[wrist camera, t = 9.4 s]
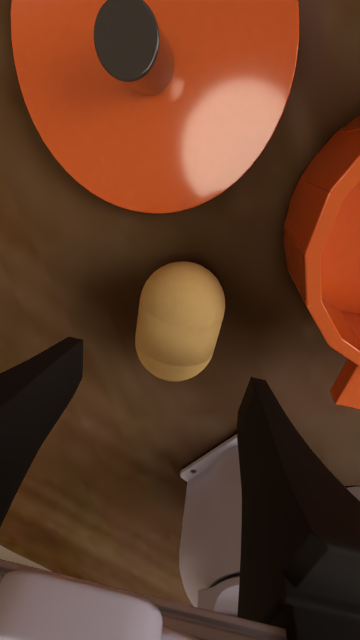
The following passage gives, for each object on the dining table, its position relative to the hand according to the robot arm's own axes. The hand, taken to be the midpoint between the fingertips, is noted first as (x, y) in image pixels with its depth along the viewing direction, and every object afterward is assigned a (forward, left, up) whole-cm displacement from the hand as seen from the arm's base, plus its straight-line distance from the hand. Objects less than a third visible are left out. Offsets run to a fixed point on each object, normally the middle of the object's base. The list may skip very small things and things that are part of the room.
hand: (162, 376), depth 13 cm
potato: (0, 0, -7) cm, 7 cm away
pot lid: (+8, +8, -6) cm, 13 cm away
